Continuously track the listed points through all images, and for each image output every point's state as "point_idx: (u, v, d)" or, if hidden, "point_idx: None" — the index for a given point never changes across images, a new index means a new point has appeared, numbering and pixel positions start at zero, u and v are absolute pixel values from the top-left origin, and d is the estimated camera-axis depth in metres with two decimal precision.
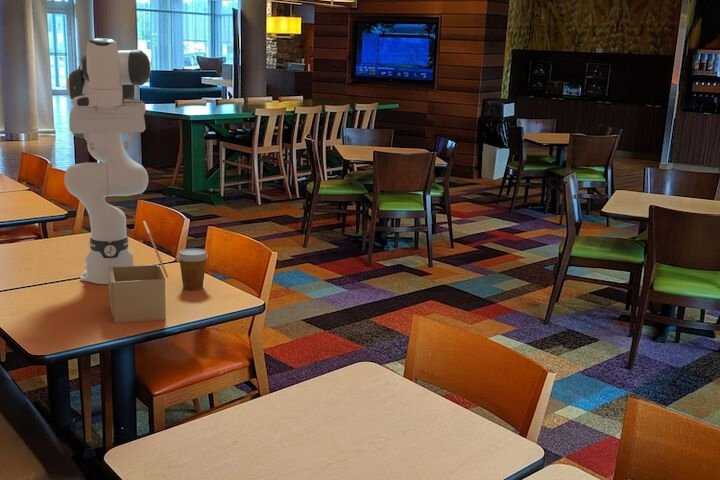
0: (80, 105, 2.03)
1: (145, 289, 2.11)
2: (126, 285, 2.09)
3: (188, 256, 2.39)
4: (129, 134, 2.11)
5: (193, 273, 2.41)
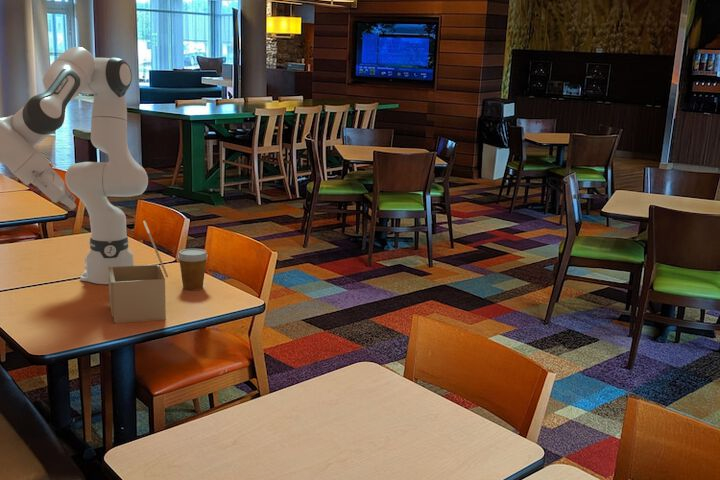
0: None
1: (145, 289, 2.11)
2: (126, 285, 2.09)
3: (188, 256, 2.39)
4: (59, 200, 2.00)
5: (193, 273, 2.41)
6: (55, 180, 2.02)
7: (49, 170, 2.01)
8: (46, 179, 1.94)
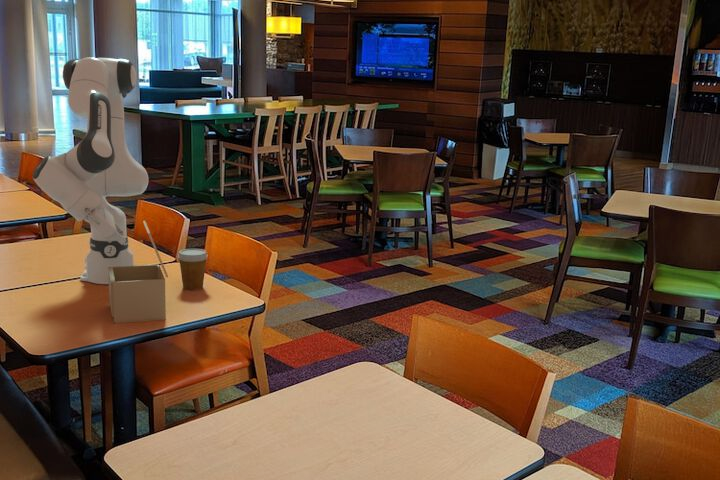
0: None
1: (145, 289, 2.11)
2: (126, 285, 2.09)
3: (188, 256, 2.39)
4: (110, 236, 2.07)
5: (193, 273, 2.41)
6: (106, 216, 2.09)
7: (100, 206, 2.08)
8: (99, 217, 2.01)
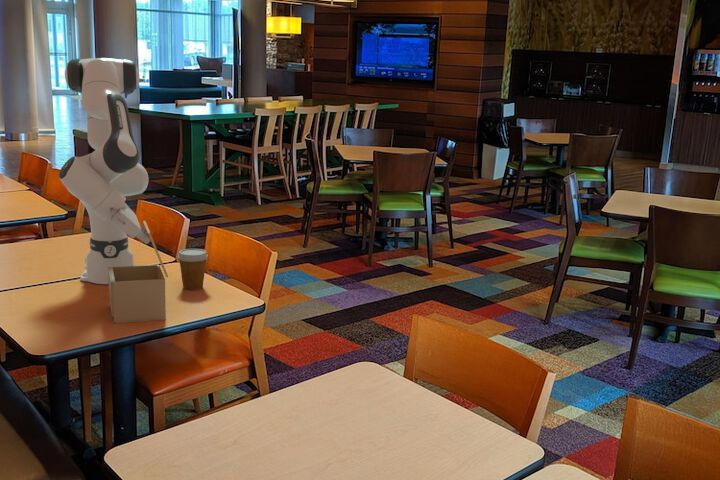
0: None
1: (145, 289, 2.11)
2: (126, 285, 2.09)
3: (188, 256, 2.39)
4: (135, 235, 2.09)
5: (193, 273, 2.41)
6: (130, 216, 2.11)
7: (125, 206, 2.10)
8: (124, 216, 2.03)
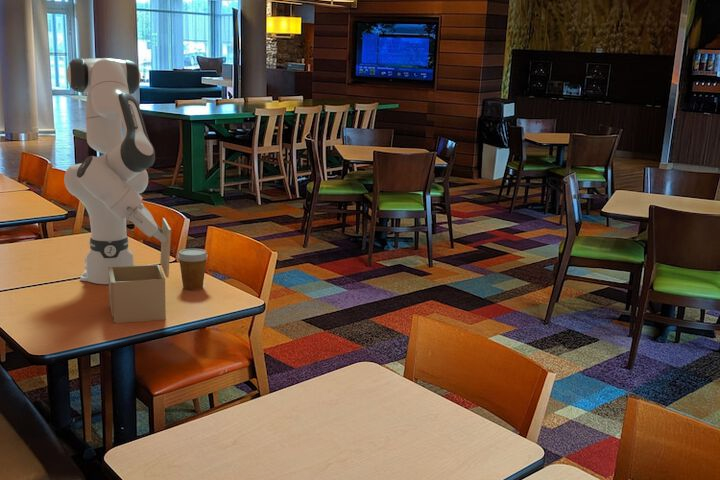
0: None
1: (145, 289, 2.11)
2: (126, 285, 2.09)
3: (188, 256, 2.39)
4: (152, 234, 2.10)
5: (193, 273, 2.41)
6: (147, 215, 2.12)
7: (141, 205, 2.12)
8: (141, 215, 2.05)
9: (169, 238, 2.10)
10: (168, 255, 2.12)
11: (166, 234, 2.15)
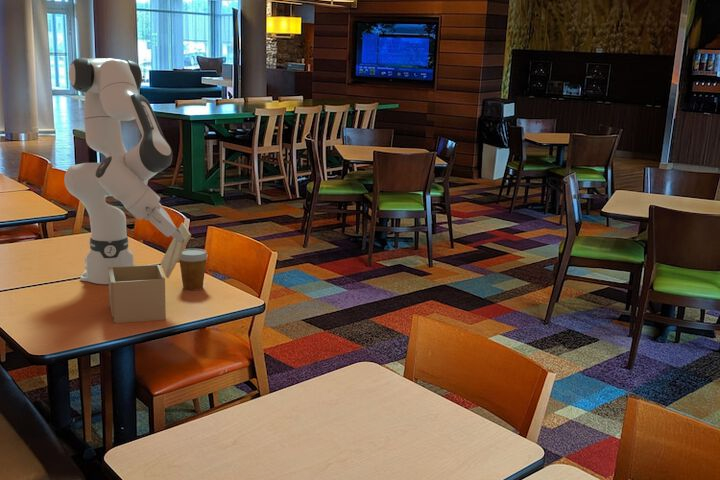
0: None
1: (145, 289, 2.11)
2: (126, 285, 2.09)
3: (188, 256, 2.39)
4: None
5: (193, 273, 2.41)
6: (165, 215, 2.14)
7: (159, 205, 2.13)
8: (160, 215, 2.06)
9: (186, 242, 2.12)
10: (177, 257, 2.13)
11: None
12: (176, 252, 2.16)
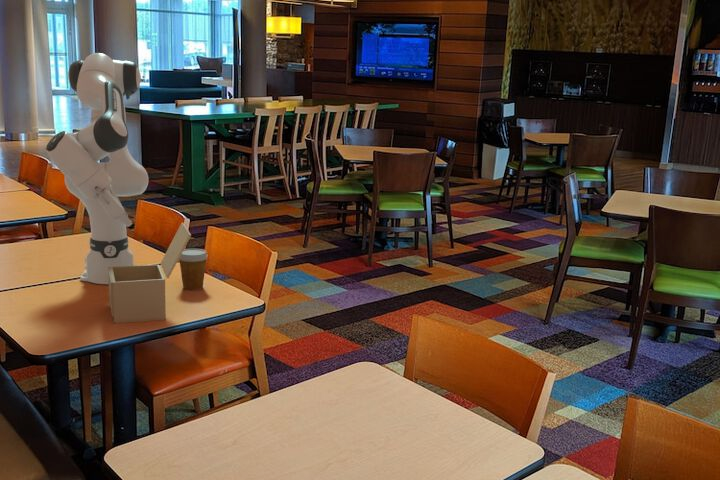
0: None
1: (145, 289, 2.11)
2: (126, 285, 2.09)
3: (188, 256, 2.39)
4: None
5: (193, 273, 2.41)
6: (114, 197, 2.09)
7: (110, 187, 2.08)
8: (109, 196, 2.01)
9: (186, 242, 2.12)
10: (177, 257, 2.13)
11: (183, 238, 2.16)
12: (176, 252, 2.16)
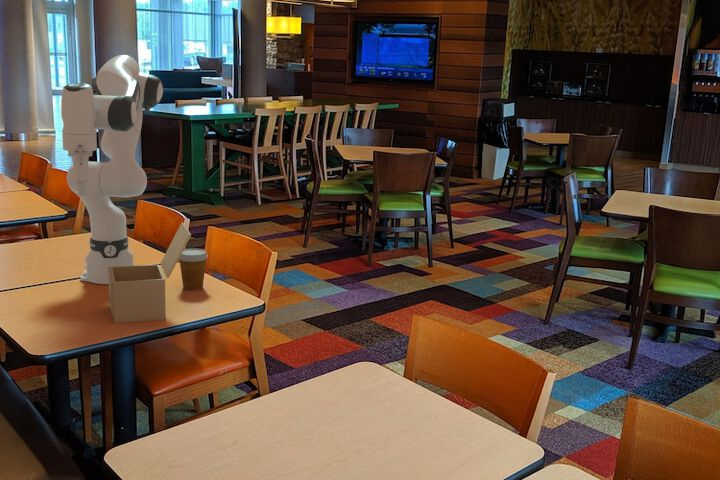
0: None
1: (145, 289, 2.11)
2: (126, 285, 2.09)
3: (188, 256, 2.39)
4: (77, 182, 2.04)
5: (193, 273, 2.41)
6: None
7: (90, 154, 2.08)
8: (86, 159, 2.00)
9: (186, 242, 2.12)
10: (177, 257, 2.13)
11: (183, 238, 2.16)
12: (176, 252, 2.16)
